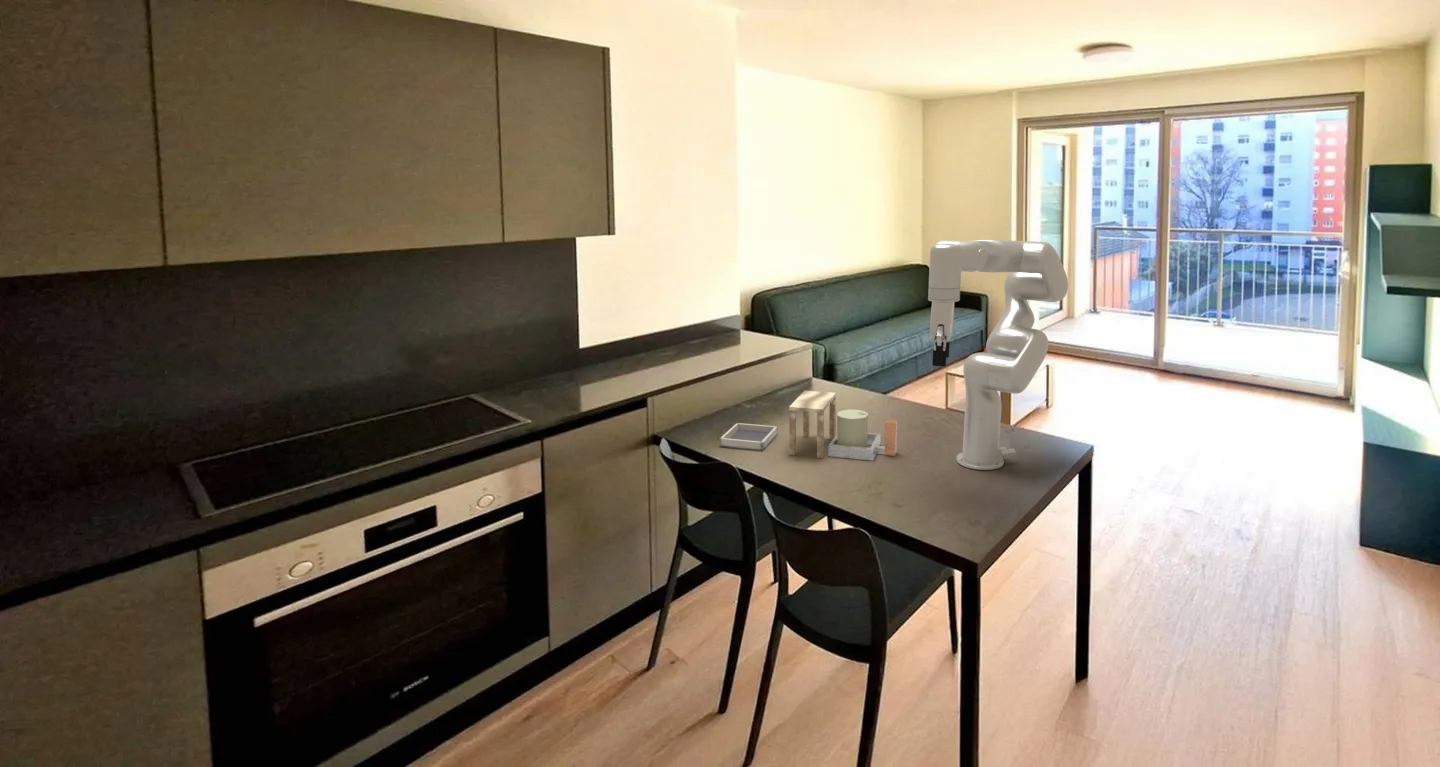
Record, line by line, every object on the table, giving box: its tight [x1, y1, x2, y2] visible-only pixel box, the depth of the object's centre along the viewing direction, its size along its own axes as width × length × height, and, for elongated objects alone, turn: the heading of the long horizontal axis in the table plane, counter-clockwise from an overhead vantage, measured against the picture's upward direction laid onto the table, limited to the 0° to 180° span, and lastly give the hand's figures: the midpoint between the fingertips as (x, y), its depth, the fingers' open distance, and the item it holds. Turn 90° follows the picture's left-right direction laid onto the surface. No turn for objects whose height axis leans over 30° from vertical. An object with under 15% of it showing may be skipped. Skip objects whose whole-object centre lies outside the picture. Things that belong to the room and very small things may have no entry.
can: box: [836, 408, 869, 448], centre depth 221 cm, size 9×9×12 cm
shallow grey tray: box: [828, 419, 898, 462], centre depth 220 cm, size 18×14×10 cm
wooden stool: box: [788, 390, 837, 459], centre depth 225 cm, size 10×18×15 cm, turn 159°
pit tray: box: [719, 422, 779, 452], centre depth 234 cm, size 14×16×3 cm
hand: (940, 361), depth 188 cm, fingers open, 9 cm apart
